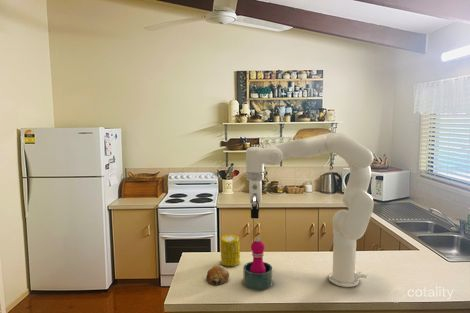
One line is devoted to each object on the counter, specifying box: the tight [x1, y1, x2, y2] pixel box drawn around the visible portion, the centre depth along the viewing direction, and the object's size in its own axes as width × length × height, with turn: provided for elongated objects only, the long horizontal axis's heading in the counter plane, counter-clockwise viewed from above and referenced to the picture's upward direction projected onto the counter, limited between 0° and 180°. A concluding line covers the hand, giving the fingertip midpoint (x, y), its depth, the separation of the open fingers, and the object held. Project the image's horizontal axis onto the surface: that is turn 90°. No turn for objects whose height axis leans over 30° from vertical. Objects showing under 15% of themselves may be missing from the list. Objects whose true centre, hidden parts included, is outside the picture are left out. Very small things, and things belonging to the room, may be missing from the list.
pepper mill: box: [250, 237, 266, 274], centre depth 140 cm, size 7×7×20 cm
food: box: [220, 234, 241, 267], centre depth 159 cm, size 15×12×10 cm
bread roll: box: [206, 264, 230, 286], centre depth 143 cm, size 10×10×8 cm
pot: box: [242, 261, 273, 291], centre depth 140 cm, size 13×13×7 cm
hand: (255, 214), depth 138 cm, fingers open, 9 cm apart
